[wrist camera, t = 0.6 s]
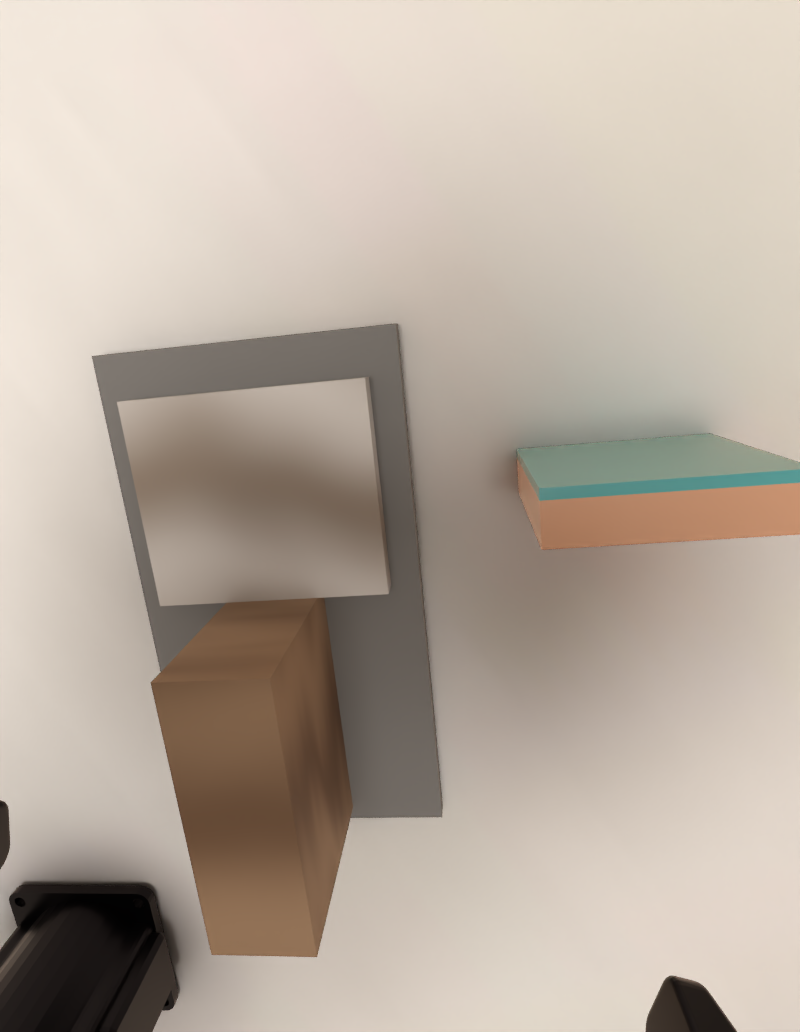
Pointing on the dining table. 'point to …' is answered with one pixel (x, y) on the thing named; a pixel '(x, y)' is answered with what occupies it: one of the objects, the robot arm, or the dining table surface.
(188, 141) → the dining table surface
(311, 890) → the turner
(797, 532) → the tile
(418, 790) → the mat
